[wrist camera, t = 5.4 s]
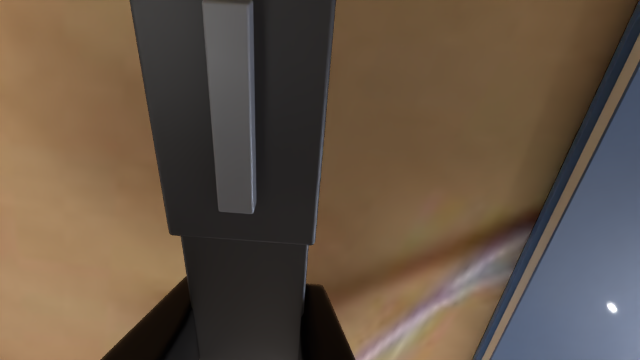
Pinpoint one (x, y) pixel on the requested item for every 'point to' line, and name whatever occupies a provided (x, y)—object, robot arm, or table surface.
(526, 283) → the notebook
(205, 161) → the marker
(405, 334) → the table surface
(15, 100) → the table surface
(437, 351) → the table surface
